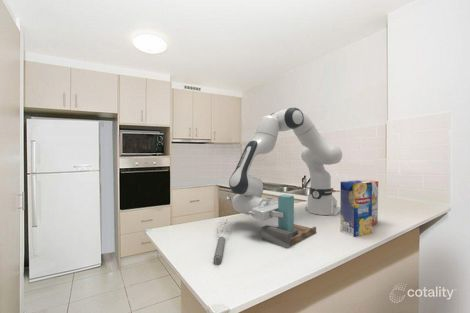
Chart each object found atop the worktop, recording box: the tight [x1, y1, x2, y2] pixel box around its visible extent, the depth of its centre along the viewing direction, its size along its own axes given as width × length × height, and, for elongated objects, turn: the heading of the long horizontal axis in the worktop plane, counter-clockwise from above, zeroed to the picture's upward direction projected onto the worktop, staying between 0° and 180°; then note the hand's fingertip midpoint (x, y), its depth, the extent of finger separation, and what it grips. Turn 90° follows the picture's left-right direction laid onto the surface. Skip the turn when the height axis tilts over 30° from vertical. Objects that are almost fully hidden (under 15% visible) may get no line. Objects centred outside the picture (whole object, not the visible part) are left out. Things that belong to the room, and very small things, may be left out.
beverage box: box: [340, 179, 373, 238], centre depth 97 cm, size 7×11×22 cm, turn 114°
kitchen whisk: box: [213, 219, 232, 266], centre depth 84 cm, size 6×34×6 cm, turn 178°
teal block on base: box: [277, 194, 298, 237], centre depth 91 cm, size 7×7×16 cm
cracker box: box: [364, 179, 379, 226], centre depth 108 cm, size 14×6×21 cm, turn 129°
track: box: [261, 223, 317, 249], centre depth 93 cm, size 22×12×5 cm, turn 134°
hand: (287, 213), depth 91 cm, fingers closed on teal block on base, 4 cm apart
